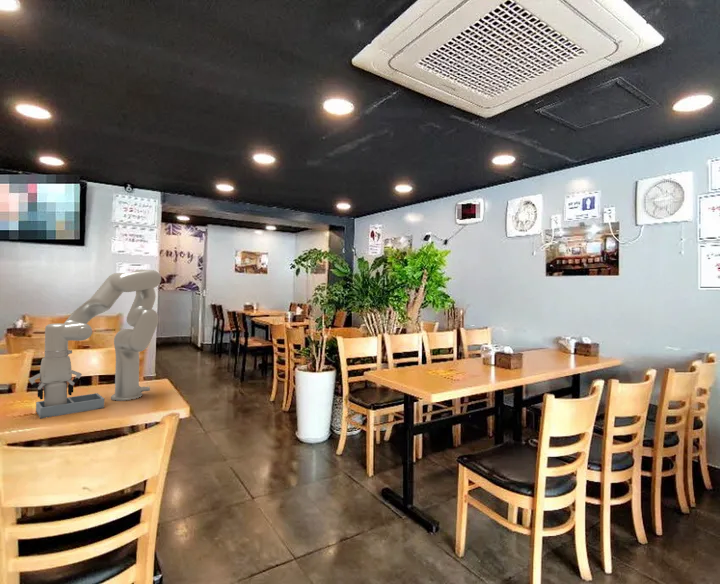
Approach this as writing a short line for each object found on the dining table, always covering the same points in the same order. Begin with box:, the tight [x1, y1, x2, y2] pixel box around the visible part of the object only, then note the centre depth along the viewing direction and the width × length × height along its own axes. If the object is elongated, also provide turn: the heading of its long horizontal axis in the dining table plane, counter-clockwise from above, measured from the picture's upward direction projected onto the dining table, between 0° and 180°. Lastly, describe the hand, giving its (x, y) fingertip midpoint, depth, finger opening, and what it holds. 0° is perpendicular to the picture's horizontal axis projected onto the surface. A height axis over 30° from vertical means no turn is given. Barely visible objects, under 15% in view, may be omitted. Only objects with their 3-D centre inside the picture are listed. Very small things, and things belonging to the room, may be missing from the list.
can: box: [43, 381, 68, 407], centre depth 165 cm, size 8×8×12 cm
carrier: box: [35, 392, 105, 419], centre depth 169 cm, size 21×11×4 cm, turn 135°
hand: (55, 396), depth 165 cm, fingers open, 9 cm apart
